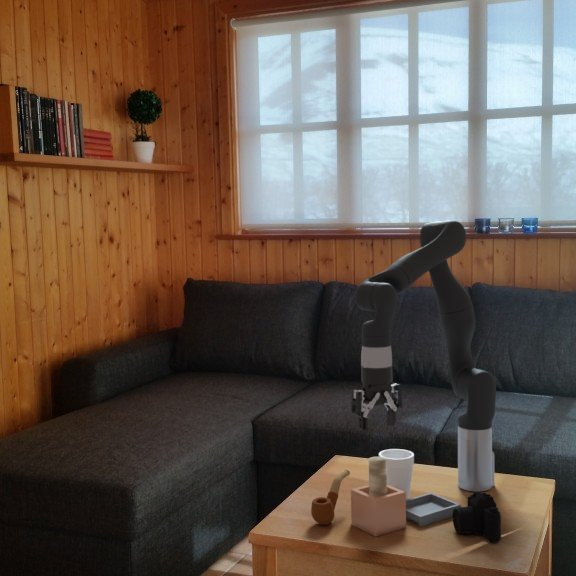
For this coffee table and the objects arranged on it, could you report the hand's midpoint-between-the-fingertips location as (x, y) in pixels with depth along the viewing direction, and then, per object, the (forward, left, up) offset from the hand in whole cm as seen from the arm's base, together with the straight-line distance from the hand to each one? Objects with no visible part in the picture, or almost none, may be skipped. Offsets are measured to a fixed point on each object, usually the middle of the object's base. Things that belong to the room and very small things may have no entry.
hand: (377, 428), depth 195 cm
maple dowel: (0, 0, -24) cm, 24 cm away
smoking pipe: (+6, -12, -25) cm, 28 cm away
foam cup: (-15, -10, -25) cm, 31 cm away
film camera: (-17, +16, -25) cm, 34 cm away
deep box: (0, 0, -25) cm, 25 cm away
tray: (-15, +1, -25) cm, 29 cm away
